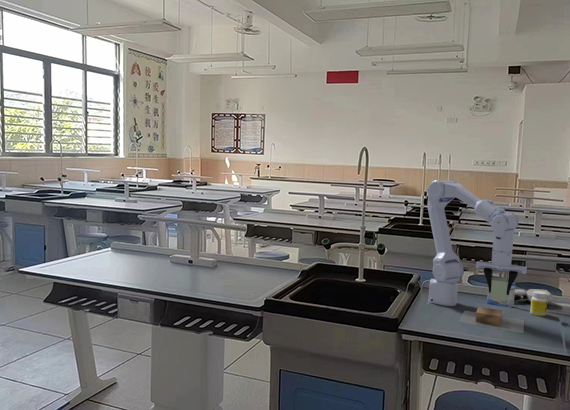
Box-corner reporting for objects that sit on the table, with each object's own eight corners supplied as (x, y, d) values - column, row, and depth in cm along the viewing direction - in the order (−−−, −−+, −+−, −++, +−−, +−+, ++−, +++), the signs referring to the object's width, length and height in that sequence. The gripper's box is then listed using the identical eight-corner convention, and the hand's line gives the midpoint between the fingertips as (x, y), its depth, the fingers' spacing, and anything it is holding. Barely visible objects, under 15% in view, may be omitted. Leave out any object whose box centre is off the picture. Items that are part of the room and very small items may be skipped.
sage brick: (490, 298, 156) (491, 280, 155) (491, 295, 160) (492, 277, 159) (505, 301, 154) (507, 282, 153) (506, 297, 158) (508, 279, 157)
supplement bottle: (547, 320, 161) (549, 294, 160) (532, 318, 162) (534, 293, 161) (543, 315, 166) (545, 291, 165) (528, 314, 167) (530, 289, 166)
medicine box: (486, 303, 178) (488, 280, 177) (492, 301, 181) (493, 278, 180) (508, 309, 172) (510, 284, 171) (513, 306, 175) (515, 282, 174)
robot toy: (507, 306, 179) (554, 308, 174) (507, 293, 179) (554, 296, 174) (505, 297, 191) (549, 300, 185) (505, 286, 190) (549, 288, 185)
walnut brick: (475, 321, 154) (476, 312, 153) (477, 315, 160) (478, 306, 159) (499, 325, 150) (500, 316, 150) (501, 319, 157) (502, 310, 156)
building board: (458, 325, 153) (458, 322, 152) (464, 313, 165) (464, 310, 165) (523, 336, 144) (523, 333, 144) (523, 323, 157) (524, 320, 157)
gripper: (476, 250, 155) (473, 292, 156) (527, 255, 148) (524, 299, 150) (478, 246, 161) (475, 287, 162) (527, 252, 155) (524, 294, 156)
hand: (498, 293), depth 156 cm, fingers closed on sage brick, 4 cm apart
